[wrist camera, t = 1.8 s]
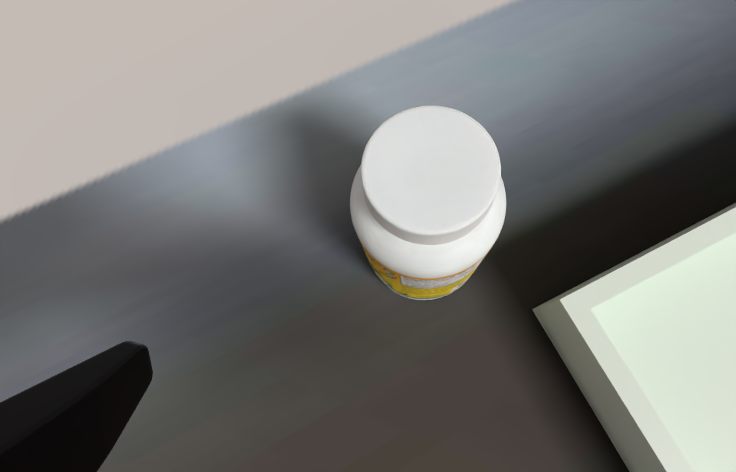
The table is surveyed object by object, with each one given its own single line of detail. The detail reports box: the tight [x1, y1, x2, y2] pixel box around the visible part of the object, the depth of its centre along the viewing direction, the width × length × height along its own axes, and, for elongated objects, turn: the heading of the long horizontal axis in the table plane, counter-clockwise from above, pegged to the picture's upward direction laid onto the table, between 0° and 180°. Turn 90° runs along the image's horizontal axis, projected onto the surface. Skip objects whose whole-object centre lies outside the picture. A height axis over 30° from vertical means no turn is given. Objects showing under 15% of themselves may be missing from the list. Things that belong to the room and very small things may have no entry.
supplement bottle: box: [350, 106, 506, 300], centre depth 18 cm, size 5×5×10 cm
